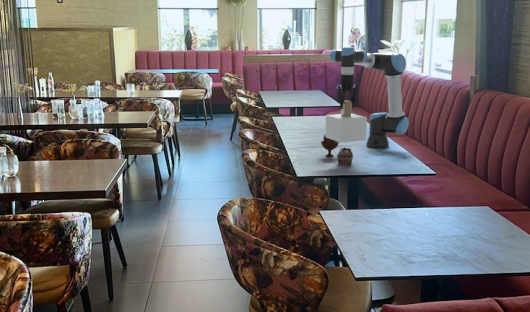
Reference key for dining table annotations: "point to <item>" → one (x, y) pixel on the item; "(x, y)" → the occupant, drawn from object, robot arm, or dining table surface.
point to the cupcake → (345, 157)
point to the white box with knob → (346, 126)
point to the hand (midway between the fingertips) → (346, 114)
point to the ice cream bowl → (329, 145)
